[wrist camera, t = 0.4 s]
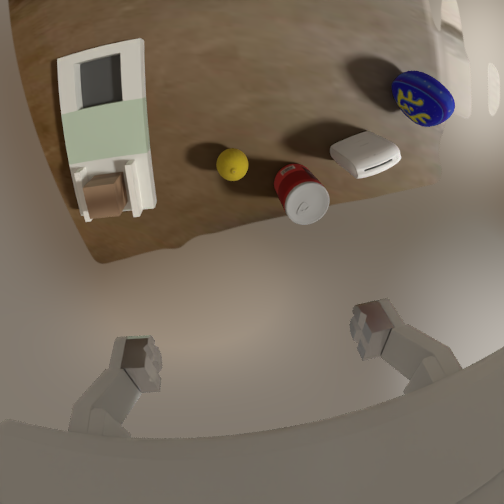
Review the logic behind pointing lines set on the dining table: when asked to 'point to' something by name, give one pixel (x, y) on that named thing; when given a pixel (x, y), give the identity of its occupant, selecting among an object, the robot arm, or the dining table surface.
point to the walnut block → (105, 195)
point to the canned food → (301, 194)
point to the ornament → (422, 98)
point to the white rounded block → (365, 154)
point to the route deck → (107, 120)
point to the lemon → (232, 164)
